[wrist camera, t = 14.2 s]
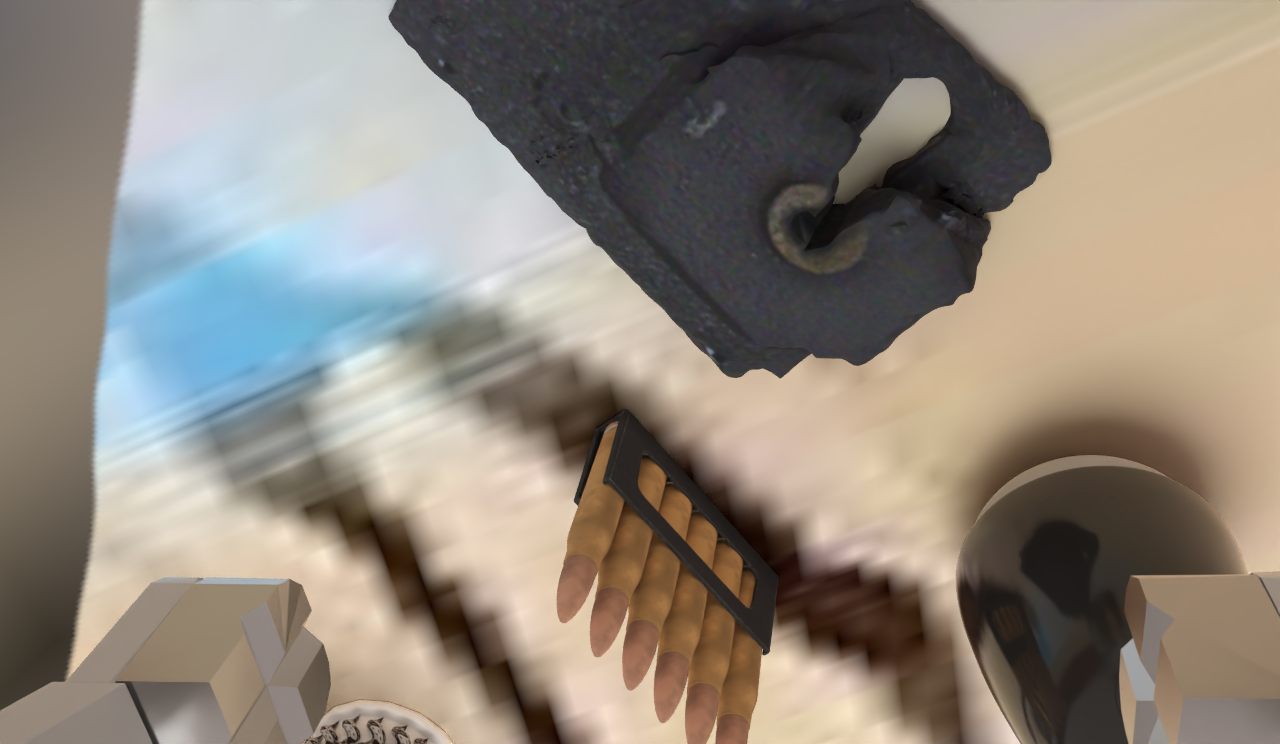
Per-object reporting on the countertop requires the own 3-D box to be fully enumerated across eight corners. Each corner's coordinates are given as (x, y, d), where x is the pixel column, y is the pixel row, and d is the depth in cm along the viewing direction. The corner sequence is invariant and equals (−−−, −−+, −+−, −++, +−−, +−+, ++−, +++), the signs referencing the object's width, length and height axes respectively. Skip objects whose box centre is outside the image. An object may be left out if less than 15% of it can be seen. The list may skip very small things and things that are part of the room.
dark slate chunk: (654, -345, 34) (628, -361, 30) (1082, 170, 39) (1110, 217, 35) (360, 7, 41) (306, 33, 37) (759, 407, 46) (751, 470, 42)
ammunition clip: (593, 429, 47) (523, 614, 37) (626, 407, 46) (564, 590, 36) (746, 595, 50) (722, 811, 40) (780, 578, 49) (763, 793, 39)
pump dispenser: (1227, 408, 42) (1404, 696, 29) (1192, 621, 47) (1331, 952, 34) (951, 411, 44) (998, 682, 31) (944, 615, 49) (983, 926, 36)
